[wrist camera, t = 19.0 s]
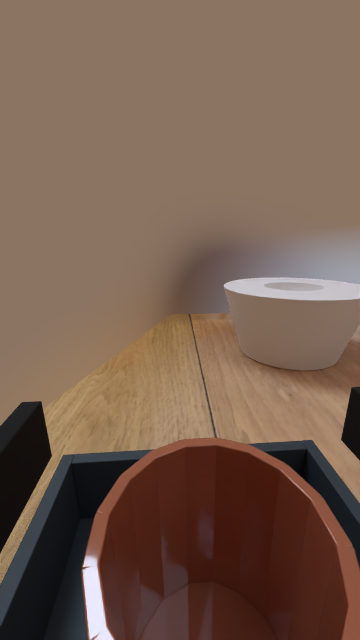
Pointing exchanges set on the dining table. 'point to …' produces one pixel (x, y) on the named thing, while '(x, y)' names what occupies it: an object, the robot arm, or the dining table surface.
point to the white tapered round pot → (294, 320)
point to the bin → (75, 527)
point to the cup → (218, 552)
